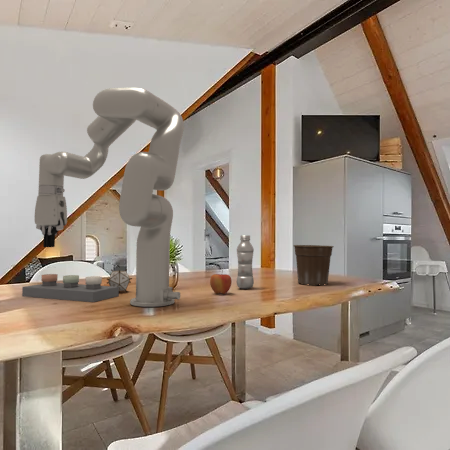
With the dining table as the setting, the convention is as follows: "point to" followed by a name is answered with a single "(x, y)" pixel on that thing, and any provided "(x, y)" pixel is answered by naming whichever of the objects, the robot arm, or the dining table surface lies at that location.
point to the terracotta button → (49, 279)
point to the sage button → (70, 281)
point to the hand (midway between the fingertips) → (49, 247)
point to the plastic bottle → (245, 263)
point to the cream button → (93, 282)
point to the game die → (119, 279)
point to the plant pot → (313, 263)
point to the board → (70, 292)
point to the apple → (220, 283)
